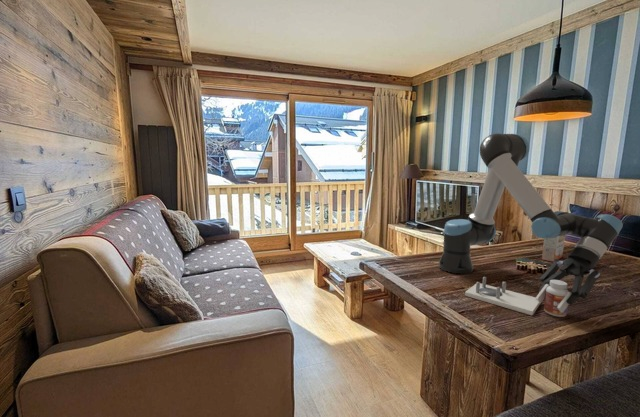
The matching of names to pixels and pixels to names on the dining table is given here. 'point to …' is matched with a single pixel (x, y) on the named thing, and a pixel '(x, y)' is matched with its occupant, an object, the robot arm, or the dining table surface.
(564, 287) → the pill bottle
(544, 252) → the cracker box
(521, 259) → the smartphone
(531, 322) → the dining table surface
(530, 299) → the pin tray
